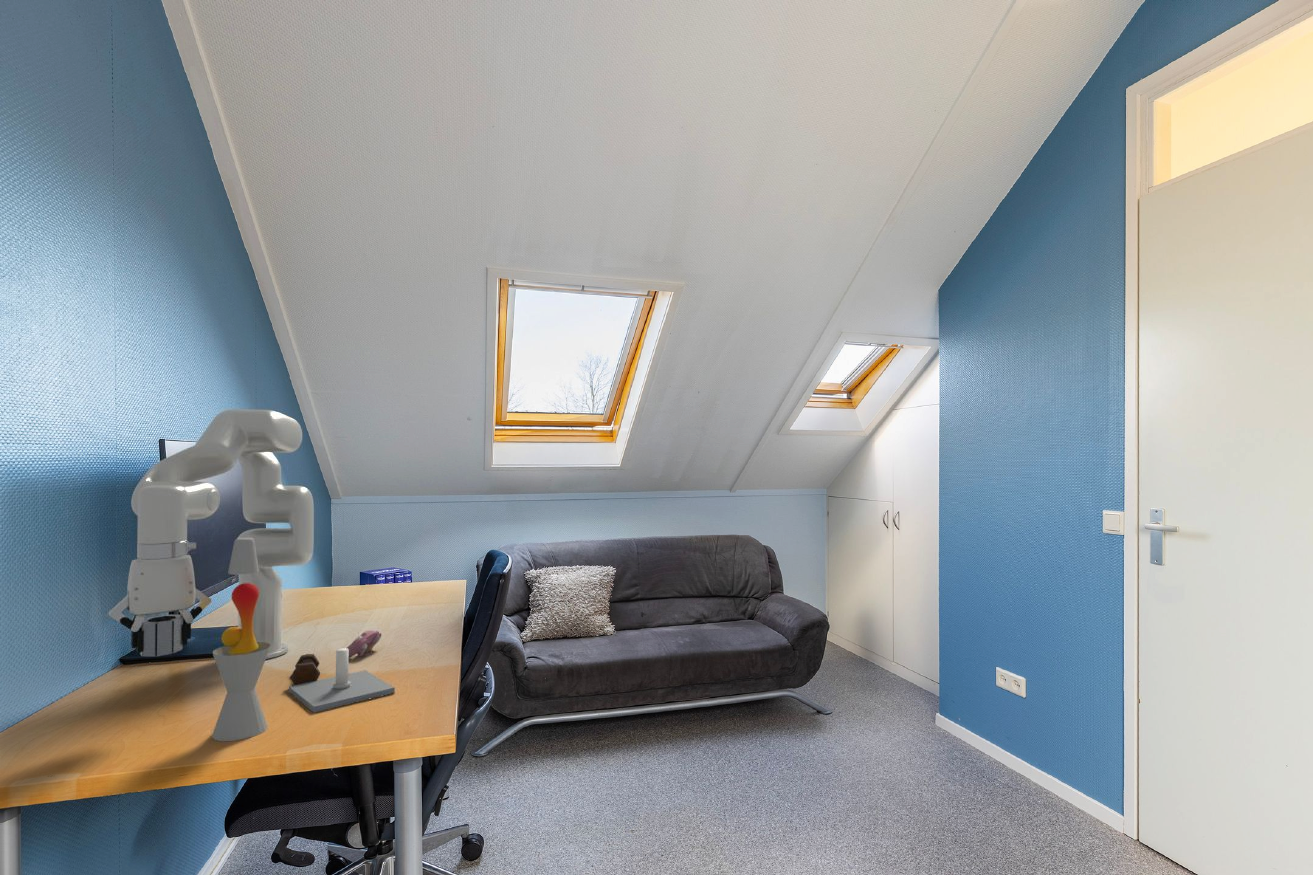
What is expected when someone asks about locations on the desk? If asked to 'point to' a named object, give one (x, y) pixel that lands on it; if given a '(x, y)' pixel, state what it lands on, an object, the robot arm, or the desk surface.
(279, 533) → the robot arm
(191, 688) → the desk surface
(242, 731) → the lava lamp
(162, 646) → the collar
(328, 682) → the post stand
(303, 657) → the bolt
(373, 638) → the pink animal figurine
